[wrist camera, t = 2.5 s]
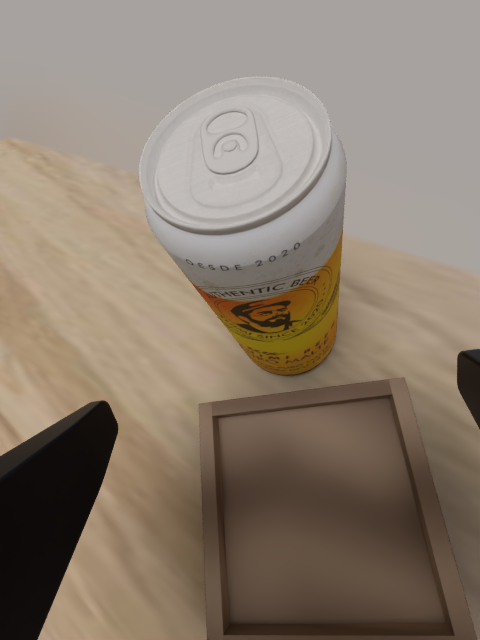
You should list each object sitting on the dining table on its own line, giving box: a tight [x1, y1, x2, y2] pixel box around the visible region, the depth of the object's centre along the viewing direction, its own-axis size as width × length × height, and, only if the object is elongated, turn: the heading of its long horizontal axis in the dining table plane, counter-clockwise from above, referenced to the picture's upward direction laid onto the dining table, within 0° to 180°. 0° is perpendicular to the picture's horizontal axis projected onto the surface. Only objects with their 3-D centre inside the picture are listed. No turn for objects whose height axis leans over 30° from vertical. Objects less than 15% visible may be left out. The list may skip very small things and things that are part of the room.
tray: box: [199, 377, 477, 640], centre depth 18 cm, size 12×12×2 cm
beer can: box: [139, 76, 346, 375], centre depth 16 cm, size 6×6×15 cm
